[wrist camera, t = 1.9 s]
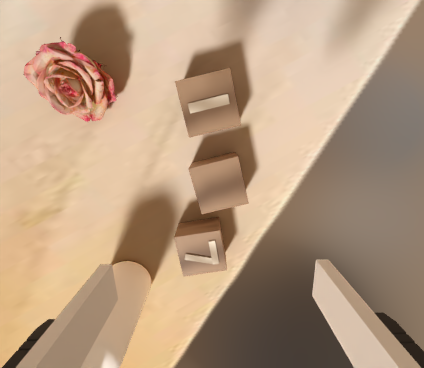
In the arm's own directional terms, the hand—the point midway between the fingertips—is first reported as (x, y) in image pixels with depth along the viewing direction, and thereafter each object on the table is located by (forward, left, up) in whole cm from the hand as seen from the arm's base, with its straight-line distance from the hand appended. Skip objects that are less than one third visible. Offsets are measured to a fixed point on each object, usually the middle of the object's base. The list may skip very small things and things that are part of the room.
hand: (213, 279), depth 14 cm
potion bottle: (+14, -19, -22) cm, 32 cm away
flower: (-18, -14, -22) cm, 32 cm away
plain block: (-1, +1, -22) cm, 22 cm away
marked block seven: (+9, -4, -22) cm, 24 cm away
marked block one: (-12, +2, -22) cm, 26 cm away
